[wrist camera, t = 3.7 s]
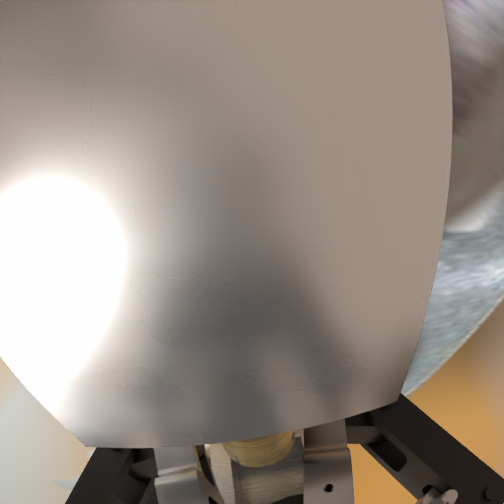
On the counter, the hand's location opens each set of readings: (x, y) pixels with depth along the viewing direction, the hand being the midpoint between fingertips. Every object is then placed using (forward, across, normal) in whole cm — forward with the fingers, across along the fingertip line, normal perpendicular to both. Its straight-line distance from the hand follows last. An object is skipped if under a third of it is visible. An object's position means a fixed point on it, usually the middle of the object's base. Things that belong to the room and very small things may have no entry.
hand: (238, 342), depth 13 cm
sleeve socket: (+1, 0, 0) cm, 1 cm away
